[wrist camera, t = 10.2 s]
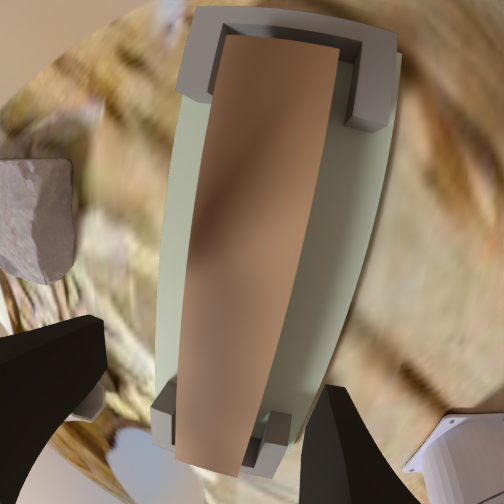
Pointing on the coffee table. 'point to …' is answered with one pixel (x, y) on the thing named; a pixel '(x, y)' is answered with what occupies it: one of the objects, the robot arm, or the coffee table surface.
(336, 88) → the end cap cradle
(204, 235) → the slat
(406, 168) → the coffee table surface
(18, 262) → the stone block
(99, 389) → the tube
